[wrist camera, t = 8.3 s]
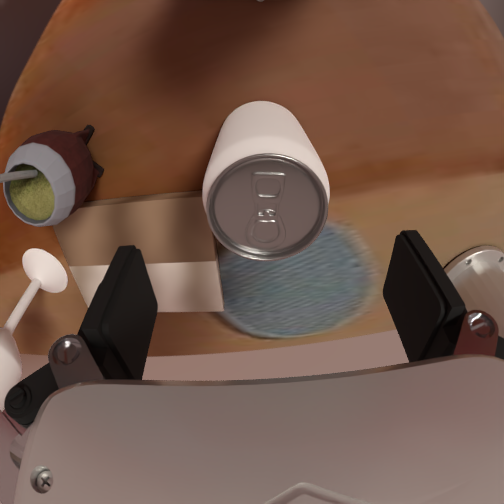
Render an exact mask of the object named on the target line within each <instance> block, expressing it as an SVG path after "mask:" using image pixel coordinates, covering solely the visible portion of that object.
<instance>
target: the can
mask: <svg viewBox="0 0 504 504" xmlns="http://www.w3.org/2000/svg"><path fill="white" fill-rule="evenodd" d="M329 195H330V189H329V182H328V177H327V174H326V171H325V169H324V167H323V164H322V162H321V161H320V159H319V157H318V155H317V153H316V151H315V149H314V148H313V146H312V144H311V142H310V141H309V139H308V137H307V135H306V134H305V132H304V130H303V129H302V127H301V125H300V124H299V122H298V121H297V119H296V118H295V117H294V115H293V114H292V113H291V112H290V111H288V110H287V109H286V108H284V107H282V106H281V105H278V104H276V103H273V102H268V101H255V102H250V103H247V104H244V105H242V106H240V107H238V108H237V109H235V110H234V111H233V112H232V113H231V114H230V115H229V116H228V117H227V119H226V120H225V122H224V124H223V126H222V128H221V130H220V133H219V136H218V138H217V141H216V144H215V146H214V149H213V152H212V155H211V158H210V161H209V164H208V167H207V170H206V173H205V177H204V181H203V189H202V198H203V205H204V209H205V211H206V214H207V219H208V223H209V226H210V228H211V230H212V232H213V234H214V235H215V237H216V238H217V239H218V240H219V242H220V243H221V244H222V245H223V246H225V247H226V248H227V249H229V250H230V251H232V252H233V253H235V254H237V255H239V256H242V257H244V258H247V259H251V260H257V261H275V260H281V259H285V258H288V257H291V256H293V255H296V254H298V253H300V252H301V251H303V250H304V249H306V248H307V247H308V246H310V245H311V244H312V243H313V242H314V241H315V240H316V238H317V237H318V236H319V234H320V233H321V231H322V229H323V227H324V225H325V222H326V219H327V215H328V203H329Z"/></svg>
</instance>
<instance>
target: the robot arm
mask: <svg viewBox="0 0 504 504" xmlns="http://www.w3.org/2000/svg"><path fill="white" fill-rule="evenodd" d="M383 297H384V299H385V302H386V304H387V306H388V309H389V311H390V314H391V316H392V319H393V321H394V324H395V326H396V329H397V331H398V334H399V336H400V338H401V341H402V344H403V347H404V349H405V352H406V354H407V357H408V360H409V363H404V364H397V365H391V366H385V367H378V368H372V369H364V370H357V371H349V372H341V373H332V374H322V375H312V376H302V377H289V378H274V379H256V380H231V381H230V380H229V381H160V380H142V376H143V372H144V367H145V362H146V358H147V353H148V349H149V345H150V340H151V336H152V332H153V328H154V323H155V319H156V315H157V311H158V303H157V299H156V296H155V293H154V290H153V287H152V284H151V281H150V278H149V275H148V272H147V269H146V265H145V262H144V259H143V256H142V252H141V250H140V249H136V247H135V245H126V246H119V247H118V249H117V251H116V253H115V255H114V257H113V259H112V261H111V263H110V265H109V267H108V269H107V271H106V274H105V276H104V278H103V280H102V282H101V283H100V284H99V286H98V288H97V290H96V292H95V294H94V297H93V299H92V301H91V303H90V306H89V308H88V310H87V313H86V315H85V317H84V320H83V322H82V324H81V327H80V329H79V332H78V334H77V335H74V334H70V335H65V336H63V337H60V338H59V339H58V340H56V341H55V342H54V343H53V345H52V346H51V348H50V350H49V353H48V360H49V363H48V364H46V365H45V366H43V367H42V368H40V369H39V370H37V371H36V372H34V373H33V374H31V375H30V376H28V377H27V378H25V379H23V380H22V381H20V382H19V383H17V384H16V385H14V386H13V387H12V388H11V389H10V390H9V391H8V393H7V395H6V397H5V401H4V407H5V409H4V410H3V412H2V411H1V410H0V501H1V503H2V504H504V253H503V252H502V251H501V250H500V249H499V248H497V247H494V246H480V247H476V248H473V249H471V250H469V251H467V252H465V253H463V254H462V255H460V256H458V257H457V258H456V259H455V260H453V261H452V262H451V263H450V264H449V265H448V266H447V267H446V268H445V269H443V268H442V266H441V265H440V263H439V262H438V260H437V259H436V257H435V256H434V254H433V253H432V251H431V250H430V248H429V247H428V246H427V244H426V243H425V241H424V240H423V238H422V237H421V236H420V234H419V233H418V232H417V231H416V230H406V231H401V233H400V235H397V236H396V239H395V244H394V248H393V252H392V256H391V260H390V264H389V268H388V272H387V276H386V280H385V284H384V287H383Z"/></svg>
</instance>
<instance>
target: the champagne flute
mask: <svg viewBox="0 0 504 504" xmlns="http://www.w3.org/2000/svg"><path fill="white" fill-rule="evenodd" d="M22 262H23V267H24V270H25V272H26V274H27V276H28V277H29V278H30V280H31V281H32V282H31V284H30V285H29V287H28V288H27V290H26V291H25V293H24V294H23V296H22V297H21V299H20V301H19V302H18V304H17V305H16V307H15V309H14V310H13V312H12V314H11V315H10V317H9V319H8V320H7V322H6V324H5V325H4V327H3V328H2V327H0V410H1V411H3V409H4V401H5V397H6V395H7V393H8V391H9V390H10V389H11V388H12V387H13V386H14V385H16V384H17V383H18V381H19V379H20V378H21V375H22V362H21V356H20V353H19V350H18V348H17V345H16V342H15V339H14V337H13V336H12V333H13V332H14V330H15V328H16V326H17V324H18V323H19V321H20V319H21V317H22V316H23V314H24V312H25V311H26V309H27V307H28V305H29V304H30V302H31V301H32V299H33V297H34V296H35V294H36V292H37V291H38V289H39V288H41V289H43V290H45V291H48V292H52V293H57V292H61V291H63V290H64V289H65V288H66V286H67V282H68V280H67V274H66V272H65V269H64V268H63V266H62V265H61V263H60V262H59V261H58V260H57V259H56V258H55V257H54V256H52V255H51V254H50V253H48V252H46V251H44V250H41V249H29V250H28V251H26V252H25V254H24V255H23V260H22Z"/></svg>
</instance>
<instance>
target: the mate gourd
mask: <svg viewBox="0 0 504 504" xmlns="http://www.w3.org/2000/svg"><path fill="white" fill-rule="evenodd" d="M94 130H95V129H94V127H92V126H91V125H87V126H86V127H85V129H84V130H83V131H79V132H75V133H71V132H65V131H58V130H52V131H47V132H43V133H40V134H36V135H34V136H31V137H30V138H28V139H27V140H26V141H25V142H24V143H23V144H22V145H21V146H20V147H19V148H18V149H17V150H16V151H15V152H14V153H13V154H12V155H11V156H10V158H9V160H8V163H7V167H6V170H5V173H3V174H0V183H2V182H3V188H4V195H5V198H6V200H7V203H8V205H9V207H10V208H11V210H12V211H13V212H14V214H15V215H16V216H17V217H18V218H20V219H21V220H22V221H24V222H25V223H27V224H31V225H34V226H38V227H41V226H50V225H57V224H58V223H60V222H61V221H63V220H64V219H66V218H67V217H68V216H70V215H71V214H73V213H74V212H75V211H76V210H77V209H79V207H80V206H81V205H82V203H83V202H84V200H85V199H86V197H87V196H88V195H89V193H90V192H91V190H92V189H93V187H94V185H95V182H96V179H97V177H101V175H102V173H103V171H104V169H103V168H102V167H101V166H99V165H98V164H97V163H95V162H94V161H93V160H92V158H91V154H90V151H89V150H88V148H87V146H86V145H87V143H88V141H89V139H90V138H91V136H92V134H93V132H94Z"/></svg>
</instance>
